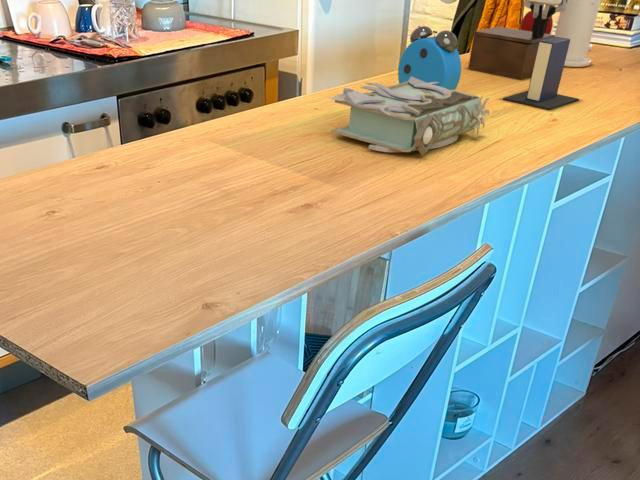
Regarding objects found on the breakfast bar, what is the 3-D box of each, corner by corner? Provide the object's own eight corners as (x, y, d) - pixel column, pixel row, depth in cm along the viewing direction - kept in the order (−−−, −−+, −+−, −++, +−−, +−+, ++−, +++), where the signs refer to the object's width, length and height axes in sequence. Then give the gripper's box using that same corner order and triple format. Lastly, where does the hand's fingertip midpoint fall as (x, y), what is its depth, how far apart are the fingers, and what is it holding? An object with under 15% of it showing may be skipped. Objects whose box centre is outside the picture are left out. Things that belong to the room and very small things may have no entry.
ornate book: (413, 170, 149) (496, 133, 166) (420, 113, 143) (506, 81, 159) (317, 143, 160) (404, 111, 177) (320, 89, 154) (410, 62, 171)
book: (543, 94, 193) (556, 36, 185) (556, 97, 191) (570, 38, 183) (525, 99, 188) (538, 40, 180) (539, 102, 186) (553, 43, 179)
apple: (553, 43, 246) (562, 4, 240) (540, 46, 241) (548, 7, 234) (526, 38, 251) (534, 0, 244) (512, 42, 245) (519, 3, 239)
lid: (554, 38, 207) (555, 35, 206) (531, 43, 200) (532, 40, 200) (497, 30, 215) (498, 26, 215) (473, 34, 209) (474, 31, 208)
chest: (542, 73, 212) (550, 39, 207) (520, 79, 206) (527, 44, 201) (491, 63, 220) (497, 30, 215) (467, 68, 214) (473, 35, 209)
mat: (533, 90, 197) (533, 88, 197) (578, 100, 191) (579, 98, 190) (502, 99, 189) (503, 97, 189) (549, 110, 183) (549, 108, 182)
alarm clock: (455, 108, 181) (469, 31, 171) (438, 113, 178) (451, 34, 168) (409, 96, 188) (420, 22, 178) (392, 100, 185) (402, 24, 175)
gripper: (594, -50, 190) (571, 39, 202) (536, -56, 198) (518, 30, 210) (579, -49, 186) (557, 43, 198) (521, -55, 194) (503, 33, 205)
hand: (537, 36), depth 204 cm, fingers closed
